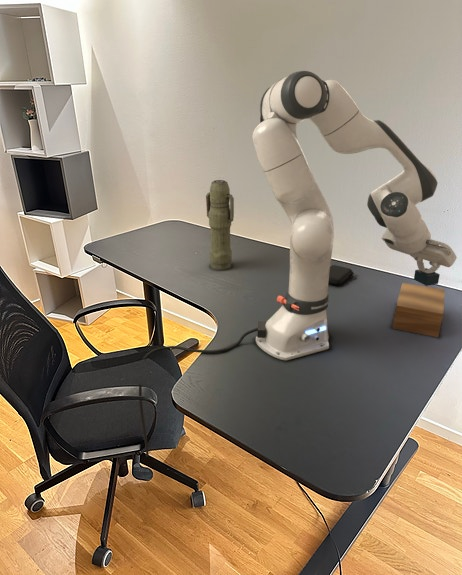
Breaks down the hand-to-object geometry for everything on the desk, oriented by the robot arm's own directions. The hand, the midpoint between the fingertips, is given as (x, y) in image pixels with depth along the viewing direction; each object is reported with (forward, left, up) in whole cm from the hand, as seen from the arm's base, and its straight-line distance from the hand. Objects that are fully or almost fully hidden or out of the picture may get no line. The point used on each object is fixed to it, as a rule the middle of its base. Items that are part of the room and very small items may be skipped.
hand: (426, 261), depth 132 cm
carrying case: (+4, +37, -20) cm, 42 cm away
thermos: (-25, +74, -20) cm, 81 cm away
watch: (+1, -1, -7) cm, 7 cm away
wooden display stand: (+1, 0, -20) cm, 20 cm away
